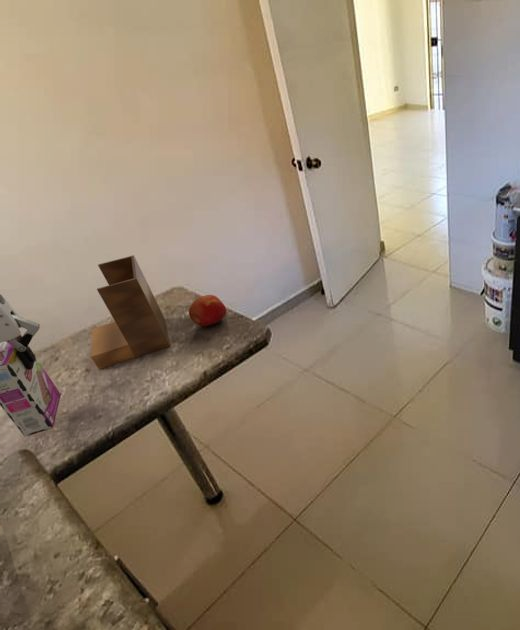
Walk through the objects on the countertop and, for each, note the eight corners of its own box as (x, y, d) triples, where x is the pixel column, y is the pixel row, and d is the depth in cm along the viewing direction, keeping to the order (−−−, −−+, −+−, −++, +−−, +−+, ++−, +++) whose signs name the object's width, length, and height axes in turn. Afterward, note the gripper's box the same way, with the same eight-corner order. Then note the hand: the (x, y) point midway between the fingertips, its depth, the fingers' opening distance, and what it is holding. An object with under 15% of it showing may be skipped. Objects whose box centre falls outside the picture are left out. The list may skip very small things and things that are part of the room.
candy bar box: (55, 427, 85) (7, 363, 76) (24, 438, 83) (-29, 373, 74) (63, 393, 93) (21, 332, 84) (35, 402, 92) (-11, 340, 83)
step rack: (99, 370, 105) (54, 301, 94) (100, 339, 116) (59, 274, 104) (170, 346, 111) (136, 278, 100) (164, 318, 122) (133, 255, 111)
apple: (233, 320, 119) (224, 296, 114) (204, 335, 114) (193, 310, 110) (219, 311, 124) (209, 287, 119) (190, 325, 119) (179, 300, 114)
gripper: (17, 265, 78) (67, 345, 88) (-111, 293, 71) (-41, 377, 81) (10, 281, 73) (65, 365, 83) (-129, 314, 66) (-51, 401, 76)
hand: (12, 370), depth 82 cm, fingers closed on candy bar box, 5 cm apart
